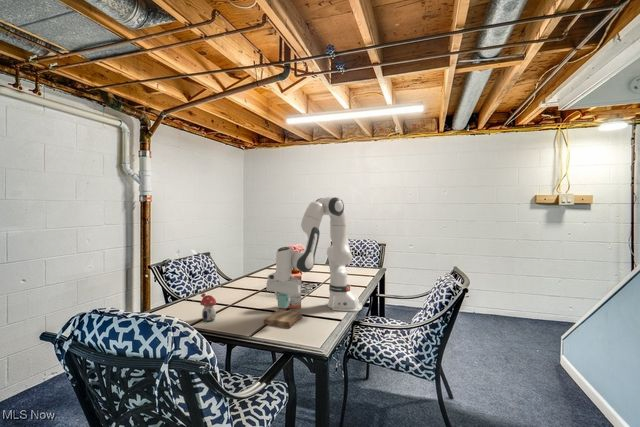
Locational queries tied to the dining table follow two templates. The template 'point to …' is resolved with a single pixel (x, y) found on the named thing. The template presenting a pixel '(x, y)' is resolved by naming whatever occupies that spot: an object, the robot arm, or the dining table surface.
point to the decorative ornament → (208, 308)
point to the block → (283, 300)
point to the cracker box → (295, 299)
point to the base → (283, 318)
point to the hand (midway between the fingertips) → (283, 300)
